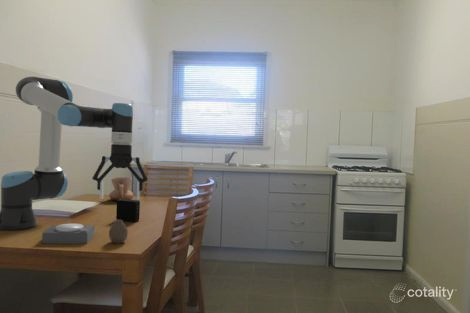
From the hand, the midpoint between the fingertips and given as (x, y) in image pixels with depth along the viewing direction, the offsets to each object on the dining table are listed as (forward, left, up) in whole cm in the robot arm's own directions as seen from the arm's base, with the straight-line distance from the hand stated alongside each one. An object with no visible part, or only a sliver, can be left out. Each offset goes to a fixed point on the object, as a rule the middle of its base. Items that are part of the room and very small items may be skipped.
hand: (119, 198), depth 147 cm
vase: (0, 0, -17) cm, 17 cm away
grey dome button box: (-19, +4, -17) cm, 26 cm away
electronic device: (-1, +37, -17) cm, 40 cm away
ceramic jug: (-12, +93, -17) cm, 95 cm away
